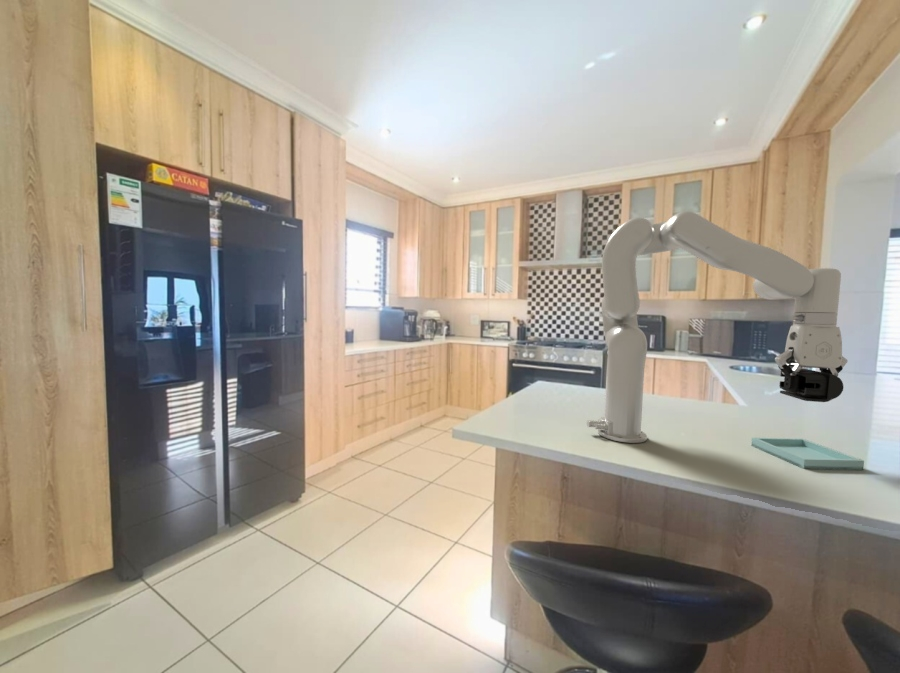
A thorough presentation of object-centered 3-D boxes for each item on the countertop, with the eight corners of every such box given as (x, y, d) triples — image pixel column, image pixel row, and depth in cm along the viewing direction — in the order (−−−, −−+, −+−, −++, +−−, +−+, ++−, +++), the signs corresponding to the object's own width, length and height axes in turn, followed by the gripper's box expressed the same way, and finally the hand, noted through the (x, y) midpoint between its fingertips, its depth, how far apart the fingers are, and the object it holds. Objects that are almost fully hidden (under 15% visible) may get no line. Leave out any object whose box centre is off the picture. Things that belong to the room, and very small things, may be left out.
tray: (803, 468, 84) (804, 459, 83) (751, 445, 98) (752, 437, 98) (863, 470, 84) (864, 460, 83) (802, 446, 98) (802, 438, 98)
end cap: (842, 403, 84) (845, 374, 84) (806, 401, 86) (809, 372, 85) (809, 394, 94) (812, 368, 93) (777, 392, 95) (779, 366, 95)
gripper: (792, 320, 85) (786, 394, 86) (867, 321, 85) (860, 396, 86) (765, 319, 92) (759, 387, 94) (834, 320, 92) (827, 389, 94)
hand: (808, 391), depth 90 cm, fingers closed on end cap, 8 cm apart
